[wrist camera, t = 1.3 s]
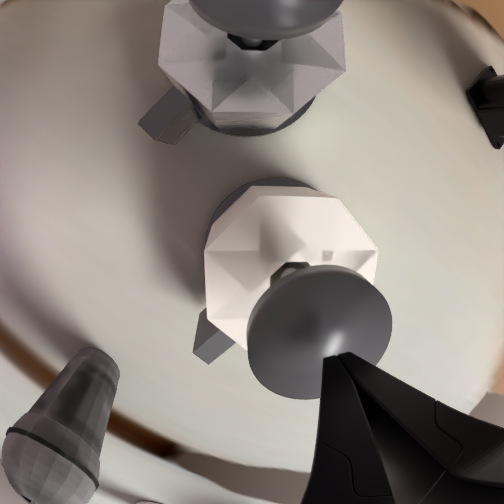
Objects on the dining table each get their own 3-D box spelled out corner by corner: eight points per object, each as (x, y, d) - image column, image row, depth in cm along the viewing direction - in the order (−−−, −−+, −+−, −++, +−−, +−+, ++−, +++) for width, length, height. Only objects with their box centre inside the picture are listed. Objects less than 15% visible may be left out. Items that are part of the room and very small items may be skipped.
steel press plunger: (253, -13, 10) (266, -86, 4) (323, 45, 11) (376, -12, 5) (179, 40, 11) (149, -27, 5) (251, 102, 12) (267, 57, 6)
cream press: (278, 148, 18) (301, 141, 12) (363, 247, 20) (410, 280, 14) (158, 268, 20) (130, 312, 14) (251, 346, 22) (258, 405, 16)
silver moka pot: (248, -5, 14) (255, -57, 8) (343, 80, 17) (388, 51, 10) (125, 97, 16) (82, 73, 10) (222, 189, 18) (216, 202, 12)
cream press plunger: (294, 207, 14) (339, 241, 8) (354, 275, 15) (412, 335, 9) (220, 277, 14) (214, 351, 9) (286, 335, 16) (310, 415, 10)
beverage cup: (56, 363, 22) (-31, 519, 3) (79, 319, 21) (-45, 512, 2) (115, 405, 24) (64, 574, 5) (147, 369, 22) (91, 589, 3)
